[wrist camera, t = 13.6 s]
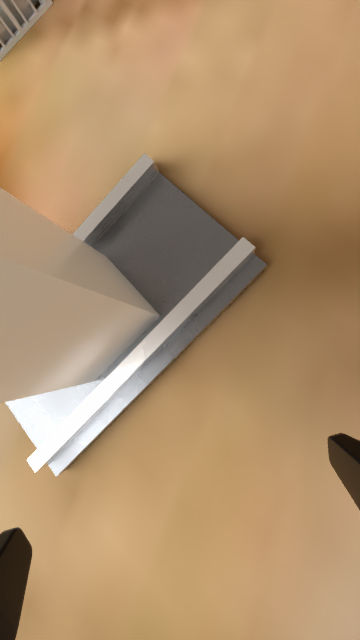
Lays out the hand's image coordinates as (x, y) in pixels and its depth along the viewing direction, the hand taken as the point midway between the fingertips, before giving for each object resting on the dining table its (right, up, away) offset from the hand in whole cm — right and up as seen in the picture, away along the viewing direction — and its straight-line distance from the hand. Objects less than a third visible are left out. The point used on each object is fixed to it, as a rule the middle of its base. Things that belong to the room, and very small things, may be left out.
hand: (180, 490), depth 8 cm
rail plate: (-5, +5, +12) cm, 14 cm away
